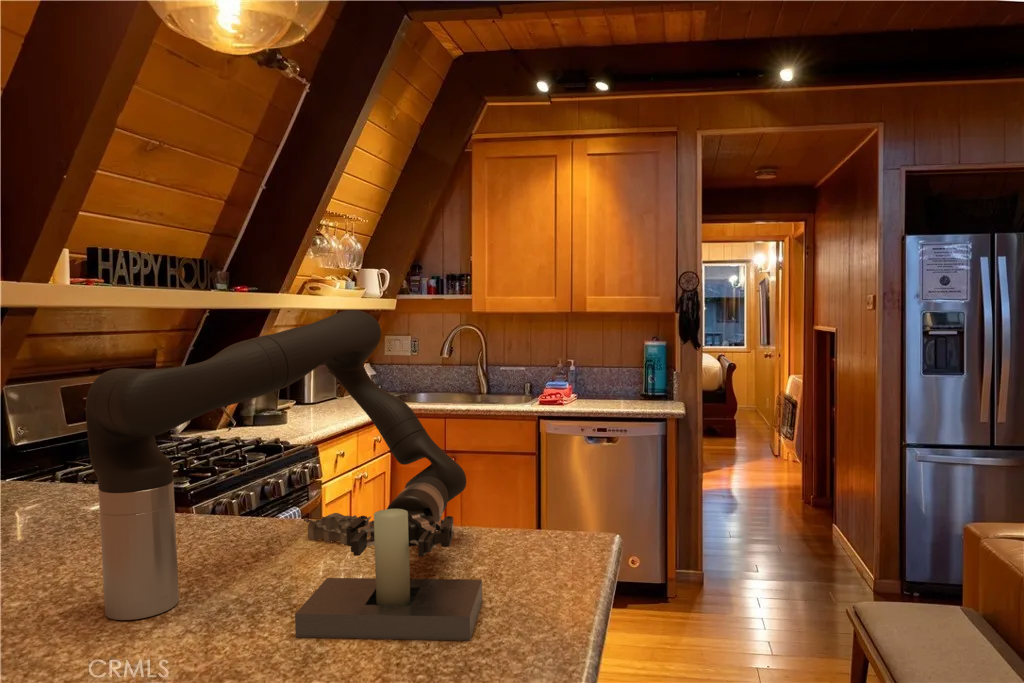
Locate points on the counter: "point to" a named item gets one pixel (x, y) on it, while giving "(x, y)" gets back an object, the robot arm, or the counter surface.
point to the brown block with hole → (391, 611)
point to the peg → (392, 557)
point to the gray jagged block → (330, 527)
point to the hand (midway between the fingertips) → (388, 548)
